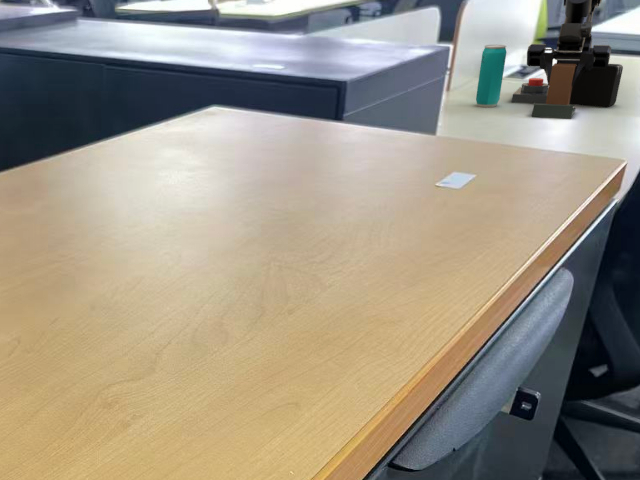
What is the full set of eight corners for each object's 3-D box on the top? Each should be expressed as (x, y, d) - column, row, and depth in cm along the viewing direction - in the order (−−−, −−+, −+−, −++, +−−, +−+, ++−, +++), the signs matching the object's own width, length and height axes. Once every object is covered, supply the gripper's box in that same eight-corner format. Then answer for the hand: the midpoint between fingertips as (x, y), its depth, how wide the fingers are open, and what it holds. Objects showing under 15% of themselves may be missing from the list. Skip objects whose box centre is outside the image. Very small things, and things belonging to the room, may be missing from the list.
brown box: (546, 108, 221) (554, 63, 216) (568, 109, 218) (576, 63, 213) (544, 111, 217) (552, 66, 212) (565, 113, 215) (574, 66, 209)
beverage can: (497, 104, 229) (507, 44, 222) (498, 108, 224) (507, 46, 217) (474, 104, 230) (483, 44, 224) (475, 107, 226) (483, 47, 219)
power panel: (518, 95, 239) (520, 80, 238) (553, 97, 235) (556, 81, 233) (511, 102, 230) (513, 87, 228) (547, 104, 226) (550, 88, 224)
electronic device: (574, 102, 227) (582, 62, 223) (615, 105, 221) (623, 64, 216) (568, 104, 225) (576, 64, 220) (608, 108, 218) (617, 66, 214)
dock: (536, 110, 219) (538, 98, 217) (574, 112, 215) (577, 100, 213) (531, 116, 212) (533, 104, 211) (570, 118, 208) (573, 106, 207)
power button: (528, 84, 233) (530, 77, 232) (543, 85, 232) (544, 78, 231) (526, 86, 231) (528, 79, 230) (541, 87, 229) (542, 80, 228)
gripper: (535, 9, 214) (520, 62, 211) (619, 9, 205) (605, 64, 202) (534, 39, 224) (520, 90, 221) (614, 40, 215) (601, 93, 212)
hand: (560, 84), depth 214 cm, fingers closed on brown box, 5 cm apart
